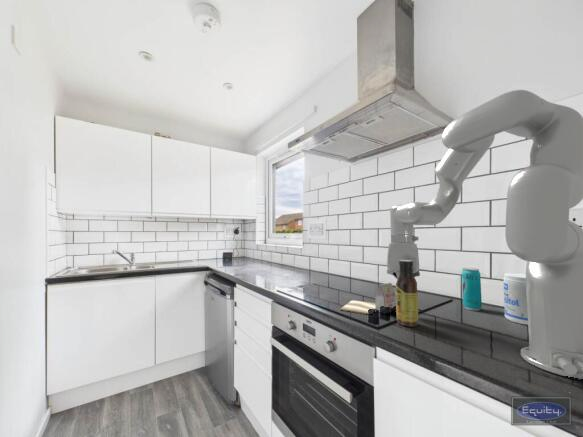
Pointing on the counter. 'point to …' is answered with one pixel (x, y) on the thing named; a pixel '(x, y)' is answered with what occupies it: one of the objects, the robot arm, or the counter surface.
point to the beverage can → (471, 289)
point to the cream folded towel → (358, 307)
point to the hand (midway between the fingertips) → (403, 291)
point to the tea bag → (385, 296)
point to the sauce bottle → (406, 295)
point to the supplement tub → (515, 298)
